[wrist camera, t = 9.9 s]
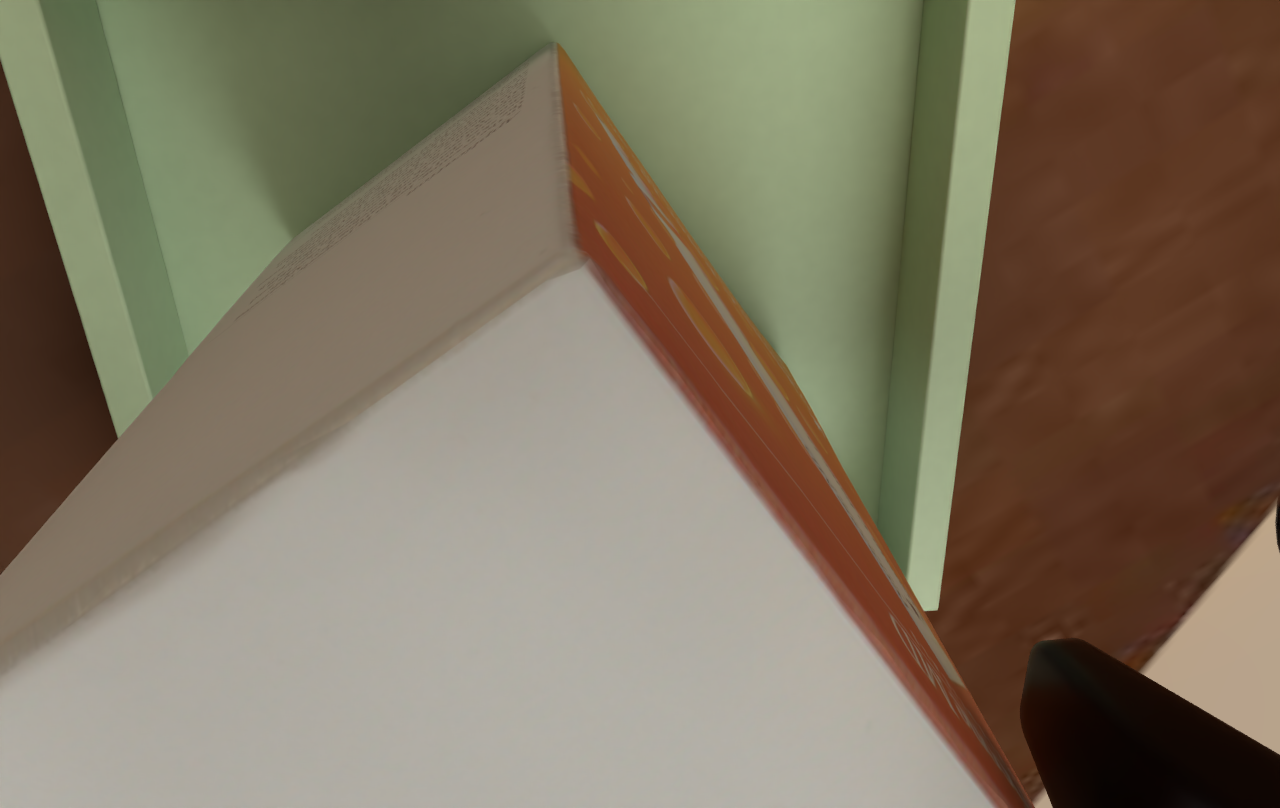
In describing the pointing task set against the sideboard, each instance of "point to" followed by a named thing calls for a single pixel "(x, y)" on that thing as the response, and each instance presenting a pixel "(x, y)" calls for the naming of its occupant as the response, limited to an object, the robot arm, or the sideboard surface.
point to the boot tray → (641, 111)
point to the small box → (481, 530)
